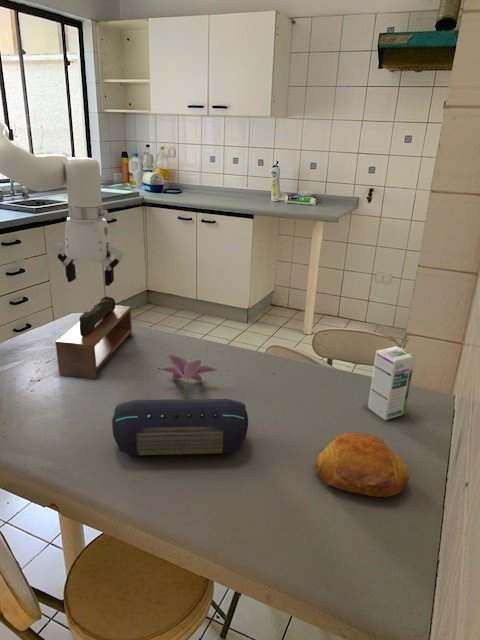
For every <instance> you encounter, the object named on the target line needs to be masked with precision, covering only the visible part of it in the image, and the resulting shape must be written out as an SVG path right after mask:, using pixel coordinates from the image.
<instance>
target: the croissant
mask: <svg viewBox="0 0 480 640" xmlns="http://www.w3.org/2000/svg"><path fill="white" fill-rule="evenodd" d="M314 466H315V467H314V468H315V470H316V471H317V473H318V476H319V478H320V479H321V481H322V482H324V483H325V484H326V485H327V486H330V487H333V488H335V489H338V490H341V491H346V492H349V493H353V494H360V495H365V496H369V497H377V498H378V497H379V498H381V497H386V498H387V497H391V496H396V495H397V494H400V493H401V492H402V491H403V490H404V487H405V485H407V484H408V481H409V479H410V478H409V477H410V476H409V471H408V468H407V464H405V463H404V462H403V461H402V459H401V457H400V456H399V455H398V454H396V453H394V452H393V451H392V449H391V448H390V447H389V445H387V444H386V443H385V442H384V439H383V438H380V437H378V436H375V435H374V434H373V435H372V434H369V433H365V432H357V431H356V432H353V431H352V432H351V431H350V432H344V433H342V434H339V435H336V436H334V438H333V439H332V440H330V441H329V442H328V443H327V446H326V447H324V448H323V450H322V451H321V452H320V453H318V455H317V461H316V462H315V465H314Z"/></svg>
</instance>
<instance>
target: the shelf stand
mask: <svg viewBox="0 0 480 640" xmlns="http://www.w3.org/2000/svg"><path fill="white" fill-rule="evenodd" d="M115 307H116V308H115V309H114V310H113V311H111V310H110V311H109V312H108V313H107V314H106V315H105V316H104V317H103V318H102V319H101V320H100V321H99V322H98V323H97V324H96V325H95V328H94V330H92V331H90V332H89V333H87V334H85V335H82V336H81V335H80V320H78V322H77V323H76V324H74V325H73V326H72V327H71V328H70V329H69V330H68V331H66V332H65V333H64V334H63V335H61V336H60V337H59V338H58V339H57V340H55V341H54V342H55V349H56V359H57V366H58V375H59V376H60V377H61V376H62V377H70V378H72V377H73V378H80V379H81V378H82V379H90V380H91V379H92V380H96V379H97V377H98V370H99V369H100V368H101V367H102V366H103V365H104V364H105V363H106V361H107V360H108V359H109V358H110V356H111V355H112V354H113V353H114V352H115V351H116V350H117V348H119V347H120V345H122V343H123V342H124V341H125V339H126V338H131V337H132V336H133V324H132V323H133V322H132V306H129V305H117V304H116V305H115Z"/></svg>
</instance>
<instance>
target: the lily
mask: <svg viewBox="0 0 480 640" xmlns="http://www.w3.org/2000/svg"><path fill="white" fill-rule="evenodd" d="M169 360H170V363H171V364H172V366H167V367H161V368H159V371H163V372H167V373H171V374H172V379H173V380H176V381H177V380H180V379H183V380H185V381H184V399H187V382H188V380H189V379H191V380H194V381H197V382H199V383H202V382H203V378H202V376H201V374H205V373H210V372H216V371H218V368H215V367H212V366H208V365H202V360H201V359H197V360H192V361H187V360H186V359H185V358H182V357H180V356H177V355H175V354H169Z"/></svg>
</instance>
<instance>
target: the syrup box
mask: <svg viewBox="0 0 480 640" xmlns="http://www.w3.org/2000/svg"><path fill="white" fill-rule="evenodd" d="M415 358H416V356H415V354H413V353H412V352H410V351H408V350H406V349H404V348H402V347H399V346H397V345H395V346H392V347H388V348H383V349H377V350H375V357H374V363H373V371H372V376H371V383H370V390H369V398H368V404H367V408H368V409H369V410H370V411H372V412H373V413H374V414H376V415H377V416H378V417H379V418H381V419H383V420H384V421H388V420H390V419H393V418H397V417H400V416H404V415H405V414H406V409H407V402H408V398H409V392H410V387H411V382H412V376H413V370H414V366H415V362H416V361H415V360H416V359H415Z"/></svg>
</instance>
